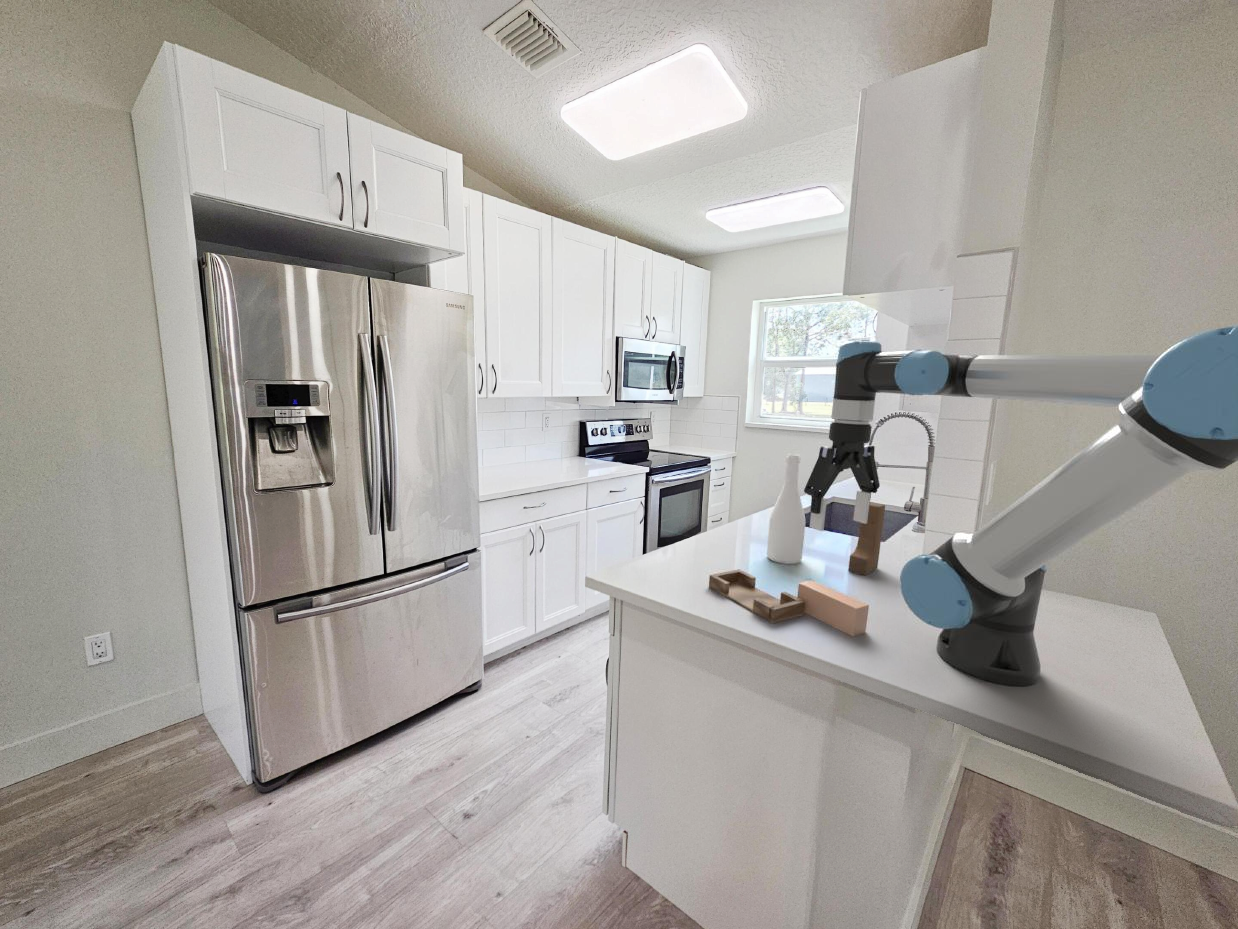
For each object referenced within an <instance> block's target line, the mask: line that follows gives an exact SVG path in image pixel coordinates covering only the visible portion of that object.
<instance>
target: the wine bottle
mask: <svg viewBox="0 0 1238 929" xmlns="http://www.w3.org/2000/svg"><path fill="white" fill-rule="evenodd" d="M785 462H786V466H785V476H784V483H783V486H782V489H781V491H780V493H779V495H778V498H777V500H776V502H775V504H774V505H773V506H774V507H773V509H772V511H771V512H770V517H769V522H768V523H769V525H768V537H767V547H766V556H767V558H768V559H769V560H771V561H773V562H776V563H778V564H785V565H794V564H799V563H801V561H802V559H803V550H804V541H805V533H806V532H805V530H806V521H807V520H806V516H805V512H804V507H803V504H802V499H801V496H800V495H801V494H800V492H799V485H798V482H799V481H798V480H799V466H800V463H801V456H800V454H796V453H788V454H787V455H786V460H785Z"/></svg>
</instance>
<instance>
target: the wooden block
mask: <svg viewBox="0 0 1238 929" xmlns="http://www.w3.org/2000/svg"><path fill="white" fill-rule="evenodd" d="M885 511H886V505H885V504H883V503H877V502H872V501H870V505H869V512H868V519H867V523H866V524H864V523H861V522H859V523H860V524H859V532H858V539H857V544H856V546H855V549H854V551H853V552H852V553H851V554H850V555H849V562H848V571H849V572H852V573H855V574H859V575H862V576H866V575H868V574H869V573H871V572H873V571H875V570H876V569H877V568H878V567H879V566H878V564H879V560H880V558H879V557H880V551H881V542H882V534H883V527H884V519H885Z"/></svg>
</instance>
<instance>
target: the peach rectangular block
mask: <svg viewBox="0 0 1238 929" xmlns="http://www.w3.org/2000/svg"><path fill="white" fill-rule="evenodd" d="M796 597H797V598H799V599H801V600H803V601H805V611H804V614H805V613H806V614H808V615H809V616H812V617H814V618H815V619H818V620H819V621H821V622H823V623H826V624H828V625H829V626H831V627H833V628H836V629H837V630H840V631H842V632H843V633H846V634H848V635H850V636H852V637H855V636H858V635H861V634H864V633H866V630H867V622H868V616H869V615H868V614H869V608H870V605H869V604H867V603H866V602H863V601H861V600H858V599H857V598H854V597H852V596H849V595H847V594H845V593H842V592H840V591H838V590H836V589H833V588H831V587H829V586H826V585H823V584H821V583H819V582H816V581H814V580H811V579H810V580H805V581H802V582H801V581H800V582H799V583H798V587H797V596H796Z"/></svg>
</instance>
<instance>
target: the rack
mask: <svg viewBox="0 0 1238 929" xmlns="http://www.w3.org/2000/svg"><path fill="white" fill-rule="evenodd" d="M756 578H757V577H756V576H754V575H752V574H750V573H748V572H746V571H743V570H741V569H740V568H738V569H735V570H734V569H733V570H729V571H723V572H719V573H714V574H709V578H708V579H709V580H708V588H709V589H712V590H713V591H715V592H717V593H719V594H720V595H722V596H724V597H725V598H727V599H729V600H730V601H733V602H734V603H736V604H737V605H739V606H741V607H743V608H745V609H746V610H748V611H750V612H751V613H753V614H755V615H757V616H759V617H760V618H762V619H764V620H765V621H767V622H769V623H770V624H775V623H779V622H783V621H787V620H790V619H793V618H797V617H802V616H803V615H804V616H805V612H804V611H805V601H803V600H801V599H799V598H797V596H795V595H794V594H791V593H789V592H786V591H782V592H781V591H780V599H778V598H777V597H775V596H773V595H771V594H769V593H767V592H765V591H763V590H761V589H759V588H757V587H756V582H757V581H756Z"/></svg>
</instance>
